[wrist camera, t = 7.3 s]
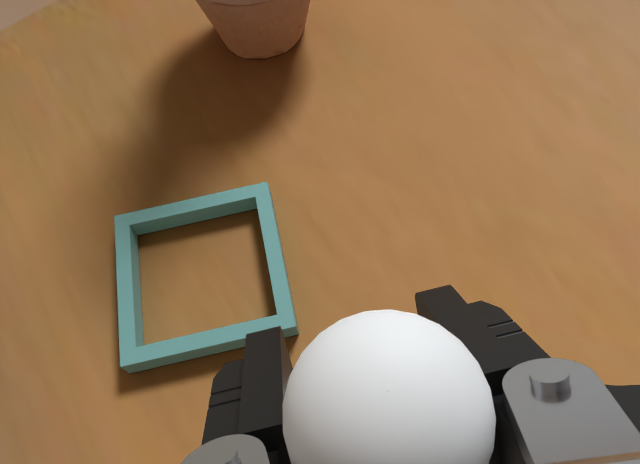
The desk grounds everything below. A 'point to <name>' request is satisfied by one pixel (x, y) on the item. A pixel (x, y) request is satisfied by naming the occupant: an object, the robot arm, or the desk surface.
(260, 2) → the potted plant
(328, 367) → the chess pawn
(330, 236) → the desk surface
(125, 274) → the frame
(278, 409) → the robot arm
